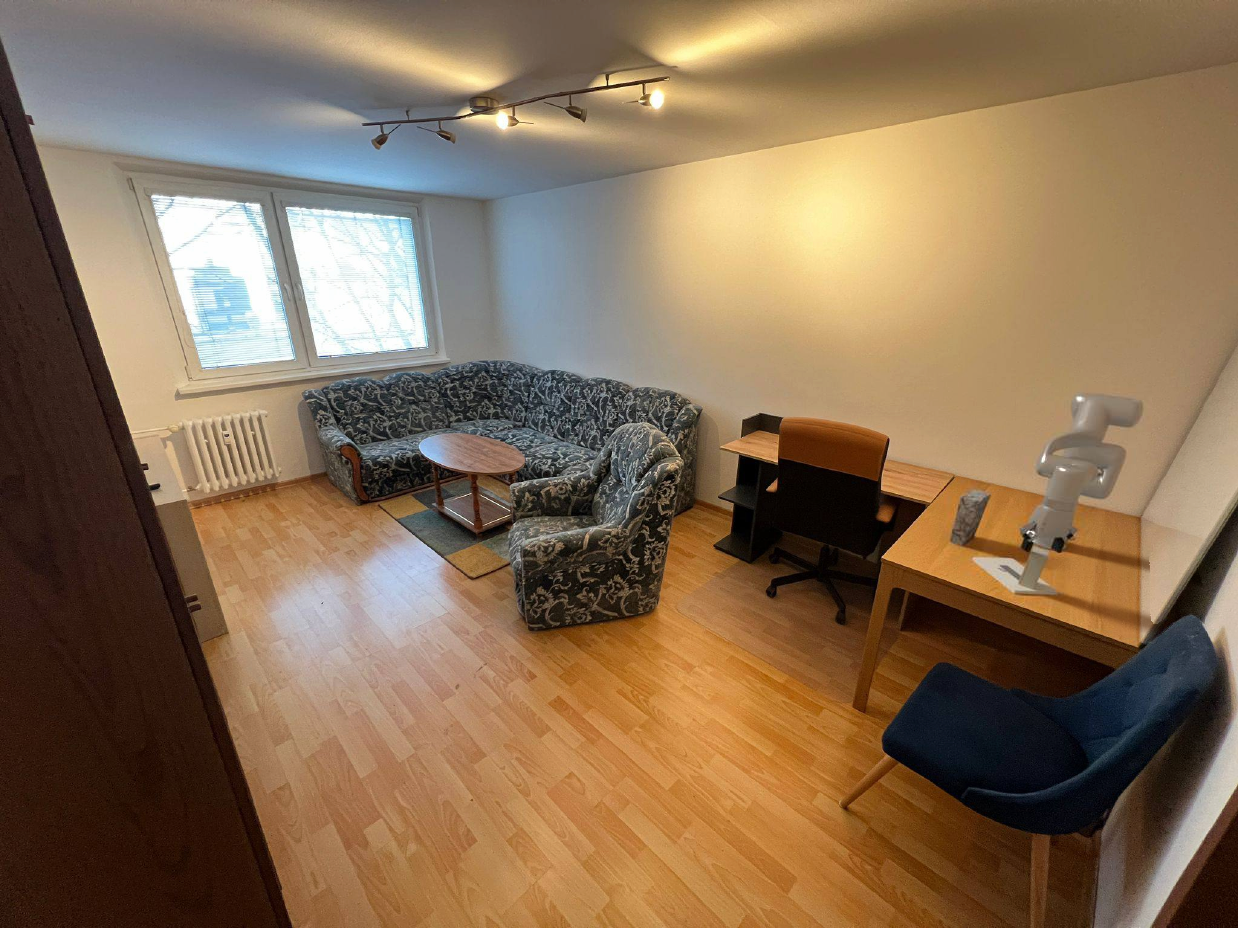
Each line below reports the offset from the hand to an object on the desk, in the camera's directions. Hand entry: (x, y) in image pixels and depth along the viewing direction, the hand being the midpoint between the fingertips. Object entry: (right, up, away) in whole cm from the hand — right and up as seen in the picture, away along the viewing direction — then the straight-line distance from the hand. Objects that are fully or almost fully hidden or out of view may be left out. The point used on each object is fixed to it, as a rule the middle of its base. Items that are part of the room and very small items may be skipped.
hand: (1040, 550), depth 153 cm
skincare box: (-1, -12, +4) cm, 13 cm away
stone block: (-1, -2, +33) cm, 34 cm away
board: (-1, -11, +10) cm, 15 cm away
